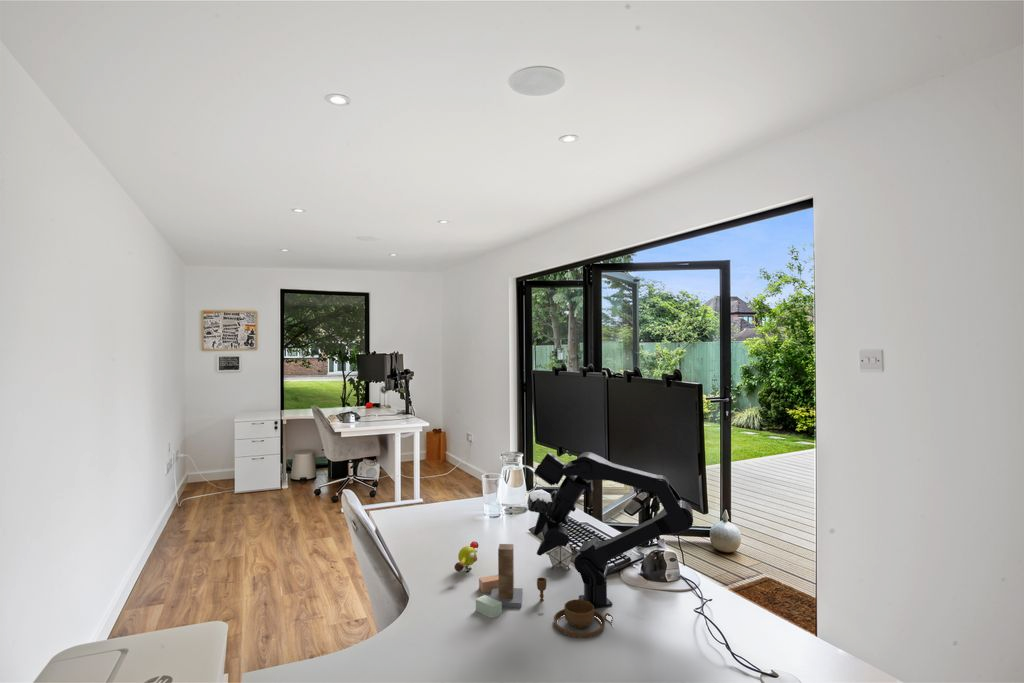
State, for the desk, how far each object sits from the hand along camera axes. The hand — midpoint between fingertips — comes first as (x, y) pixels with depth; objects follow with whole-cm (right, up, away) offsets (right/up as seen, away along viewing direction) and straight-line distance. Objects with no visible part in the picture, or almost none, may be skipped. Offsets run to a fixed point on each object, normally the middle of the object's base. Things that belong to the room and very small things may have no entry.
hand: (536, 544), depth 145 cm
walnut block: (-8, -12, -3) cm, 15 cm away
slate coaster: (-8, -13, -3) cm, 16 cm away
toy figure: (-19, -13, +15) cm, 28 cm away
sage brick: (-12, -14, -9) cm, 20 cm away
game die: (+8, -13, +17) cm, 23 cm away
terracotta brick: (-12, -13, +3) cm, 18 cm away
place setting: (+9, -14, -11) cm, 20 cm away
